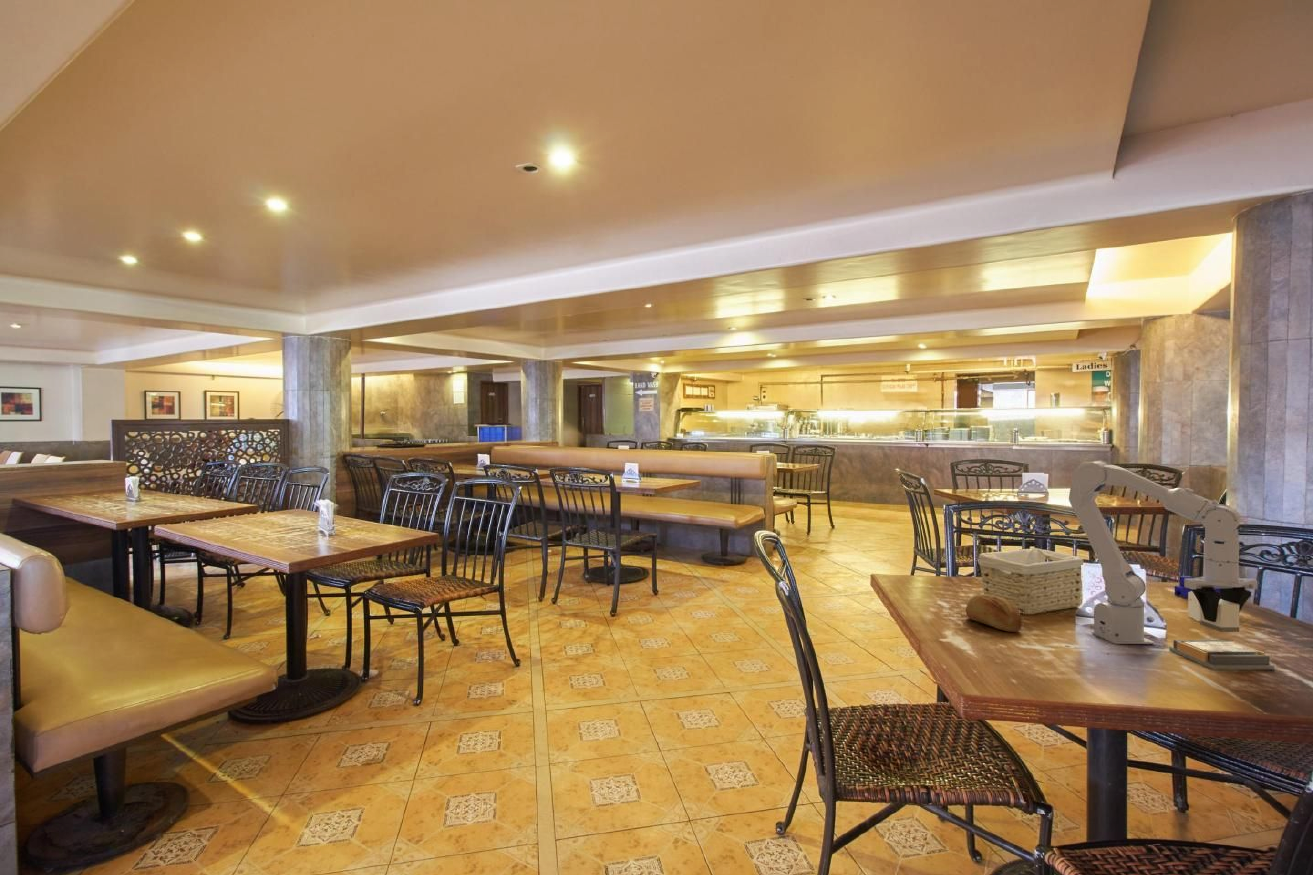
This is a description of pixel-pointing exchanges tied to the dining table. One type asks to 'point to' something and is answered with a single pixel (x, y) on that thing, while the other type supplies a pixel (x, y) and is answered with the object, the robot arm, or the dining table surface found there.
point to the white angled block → (1193, 606)
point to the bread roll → (994, 612)
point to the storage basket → (1033, 579)
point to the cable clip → (1183, 590)
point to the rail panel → (1222, 657)
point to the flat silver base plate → (1222, 648)
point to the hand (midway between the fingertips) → (1220, 620)
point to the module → (1224, 617)
